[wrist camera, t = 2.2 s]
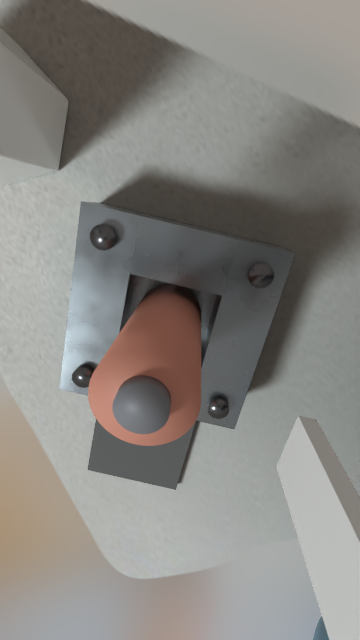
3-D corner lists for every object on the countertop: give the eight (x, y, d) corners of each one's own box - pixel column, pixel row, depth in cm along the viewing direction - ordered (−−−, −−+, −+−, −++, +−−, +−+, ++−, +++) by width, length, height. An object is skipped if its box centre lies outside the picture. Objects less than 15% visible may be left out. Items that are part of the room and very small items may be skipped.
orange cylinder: (208, 292, 24) (214, 372, 12) (192, 349, 26) (185, 469, 14) (145, 277, 24) (89, 342, 12) (133, 335, 26) (75, 444, 14)
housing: (280, 246, 24) (298, 254, 20) (229, 400, 29) (235, 434, 24) (100, 202, 24) (77, 201, 19) (78, 365, 28) (56, 393, 24)
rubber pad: (197, 412, 29) (197, 416, 29) (176, 484, 32) (175, 489, 32) (102, 390, 29) (100, 393, 29) (89, 465, 32) (87, 469, 32)
